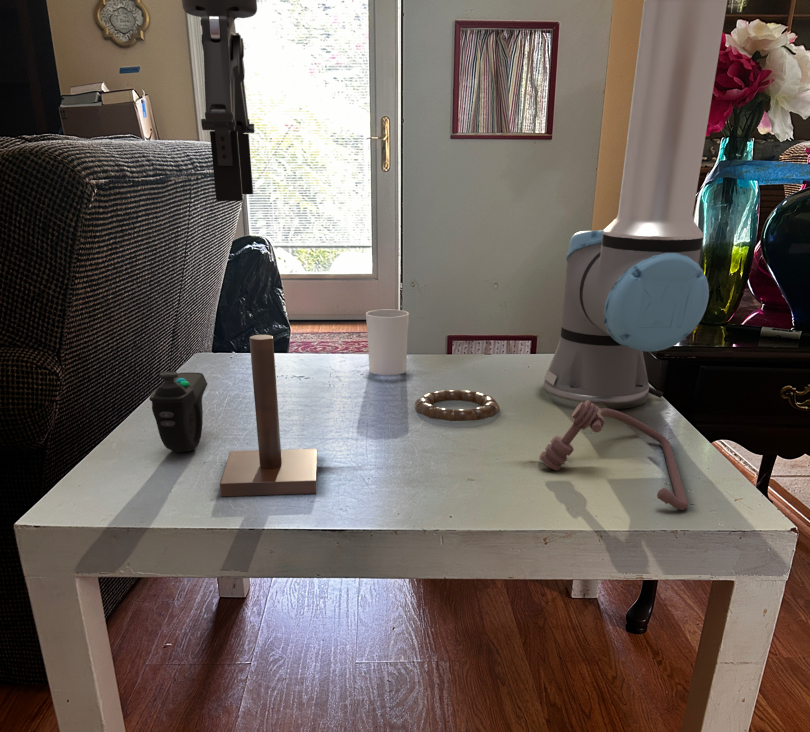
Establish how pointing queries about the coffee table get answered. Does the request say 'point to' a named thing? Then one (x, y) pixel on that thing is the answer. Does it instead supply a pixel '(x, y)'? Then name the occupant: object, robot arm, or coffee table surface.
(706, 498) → the coffee table surface
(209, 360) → the coffee table surface
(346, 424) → the coffee table surface
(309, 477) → the stand
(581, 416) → the toilet paper hanger
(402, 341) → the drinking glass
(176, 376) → the controller
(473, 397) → the ring
